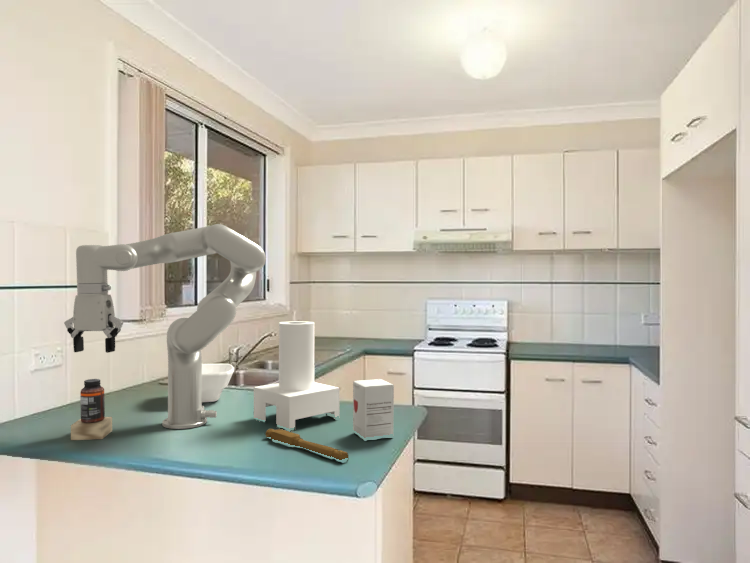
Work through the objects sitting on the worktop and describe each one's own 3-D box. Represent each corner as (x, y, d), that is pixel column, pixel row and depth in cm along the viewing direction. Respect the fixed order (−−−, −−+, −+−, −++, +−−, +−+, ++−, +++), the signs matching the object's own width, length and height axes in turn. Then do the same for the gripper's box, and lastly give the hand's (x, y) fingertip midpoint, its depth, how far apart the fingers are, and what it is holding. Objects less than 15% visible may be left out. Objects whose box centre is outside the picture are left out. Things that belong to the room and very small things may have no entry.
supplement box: (351, 433, 156) (352, 380, 156) (380, 429, 160) (381, 378, 159) (363, 442, 148) (364, 386, 147) (394, 438, 151) (394, 383, 151)
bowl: (164, 410, 181) (164, 375, 181) (172, 396, 203) (172, 364, 202) (233, 407, 186) (233, 372, 186) (234, 393, 208) (234, 362, 208)
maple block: (112, 430, 157) (112, 416, 157) (102, 439, 149) (102, 424, 149) (82, 431, 156) (82, 417, 156) (70, 440, 148) (70, 425, 148)
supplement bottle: (98, 416, 157) (98, 377, 157) (108, 420, 153) (108, 379, 153) (76, 421, 152) (76, 380, 152) (86, 424, 148) (86, 382, 148)
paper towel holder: (302, 409, 184) (302, 319, 183) (339, 420, 170) (339, 322, 170) (253, 419, 170) (254, 322, 170) (289, 431, 157) (289, 326, 157)
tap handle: (340, 453, 130) (263, 428, 150) (340, 466, 130) (263, 439, 150) (349, 450, 132) (272, 426, 152) (349, 463, 132) (272, 437, 152)
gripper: (129, 289, 154) (131, 350, 155) (74, 289, 157) (76, 349, 158) (112, 290, 147) (114, 354, 147) (54, 290, 150) (56, 353, 150)
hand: (94, 351), depth 153 cm, fingers open, 9 cm apart
